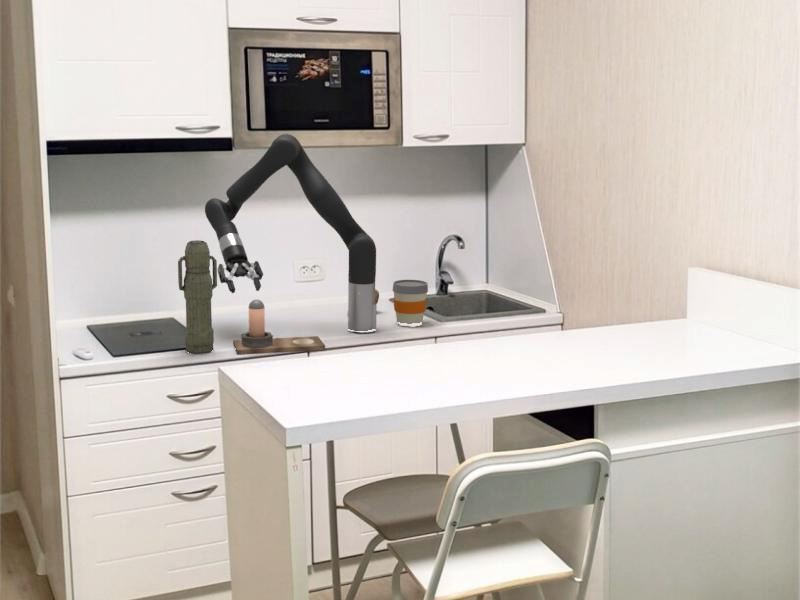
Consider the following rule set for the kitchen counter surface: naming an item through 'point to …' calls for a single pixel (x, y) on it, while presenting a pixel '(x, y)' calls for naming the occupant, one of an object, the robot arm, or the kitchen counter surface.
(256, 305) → the round-topped orange cylinder
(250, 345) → the jig
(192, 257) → the thermos
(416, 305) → the reusable coffee cup
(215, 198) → the robot arm
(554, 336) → the kitchen counter surface
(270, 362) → the kitchen counter surface
